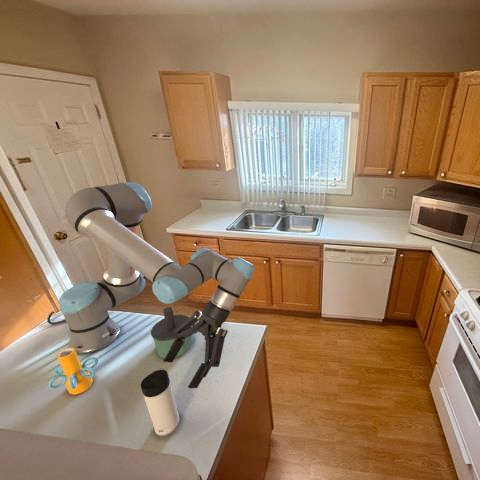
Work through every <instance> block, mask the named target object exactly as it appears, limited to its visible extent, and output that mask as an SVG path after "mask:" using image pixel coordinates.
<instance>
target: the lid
mask: <svg viewBox="0 0 480 480" xmlns="http://www.w3.org/2000/svg"><path fill="white" fill-rule="evenodd" d="M162 313H163V317H164V318H162V319H160V320H159V321H157V322H156V323H155V324H154V325H153V326H152V327H151V330H150V335H151V338H152V339H153V338H154V339H155V340H159V341H167V340H172V339H175V337H176V335H175V334H174V331H175V330H176V329H177V328H178V327H179V326H181V325H182V324H183V323H184V322H185V321H187V320H188V319H189V318H190V317H189V316H187V315H185V314H174V310H173V307H171V306H167V307H165V308H163V309H162ZM154 339H153V340H154Z"/></svg>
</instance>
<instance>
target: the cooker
mask: <svg viewBox="0 0 480 480" xmlns="http://www.w3.org/2000/svg"><path fill="white" fill-rule="evenodd" d="M193 336H194V335H191V336H189V337H187V338H185V340H182V341H184V344H183V346H182V347H181V349H180V350H179V352H178V354H177V355H176V357H175V358H177V357H179V356H181V355H183V354H185V353H186V352H188V351H189V350H190V349H191V347H192V346H193V344H194V337H193ZM152 339H153V343H154V345H155V349H156V353H157V355H158V356H159V357H161V358H162V359H164V358H165V357H166V355H167V354H168V352H169V350H170V349H171V348H170V347H171V345H172V344H173V342H174V340H175V339H176V338H175V339H172V340H167V341H159V340H155V339H154V338H153V337H152Z"/></svg>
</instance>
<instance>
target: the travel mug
mask: <svg viewBox="0 0 480 480" xmlns="http://www.w3.org/2000/svg"><path fill="white" fill-rule="evenodd" d="M171 383H172V382H171V379H170V377H169V373H168V371H167V370H165V369H157V370H154V371H152V372H151V373H150V374H148V375H147V376H145V377H144V378H143V379H142V381H141V382H140V388H141V392H142V396H143V399H144V401H145V405H146V407H147V411H148V414H149V417H150V420H151V423H152V426H153V430H154V433H155V435H157V436H158V437H166V436H168V435H171V434H172V433H173V432H175V430H176V429H177V428H178V426H179V425H180V421H181V419H180V415H179V411H178V406H177V403H176V399H175V395H174V391H173V387H172V384H171Z"/></svg>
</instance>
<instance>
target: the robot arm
mask: <svg viewBox="0 0 480 480" xmlns="http://www.w3.org/2000/svg"><path fill="white" fill-rule="evenodd" d="M152 207H153V204H152V200H151V197H150V195H149V194H148V191H147V190H146V189H145V188H144V187H143V186H141V184H139V183H137V182H134V181H128V182H127V181H126V182H122V181H121V182H119V183H113V184H107V185H99V186H94V187H92V186H91V187H84V188H82V189H80V190H77V191H76V192H74V193H73V194H71V196H69V198H68V200H67V202H66V204H65V212H64V213H65V217H66V220H67V222H68V224H69V225H70V227H71V228H72V229H73V230H74V231H75V232H76V233H78V234H79V235H80V236H82V237H84V238H87V239H93V240H94V241H96V242H97V243H98V244H100V245H101V246H103V247H104V248H105V249H107V269H105V270H104V272H103V275H102V277H103V278H102V280H100V281H98V282H95V281H86V282H84V283H78V284H76V285H74V286H72V287H70V288H68V289H67V290H65V291H64V292H63V293H62V294H61V295H60V297H59V299H58V304H59V307H60V308H59V309H60V312H61V313H62V315H63V317H64V319H63V320H60V321H55V322H52V321H51V317H52V315H53V314H55V311H51V312H50V313H49V315H48V316H47V323H48V324H49V325H59V324H62V323H65V322H66V324H67V326H68V328H69V331H70V334H69V343H68V344H69V348H74V349H75V351H76V353H77V355H87V354H91V353H95V352H98V351H101V350H103V349H105V348H106V347H109V346H110V345H111V344H112V343H114V342H115V341H116V340H117V339H118V338H119V337H120V335H121V329H120V326H119V325H118V323H117V322H116V321H115V320H114V319H112V317H110V314H109V311H111V310H112V309H113V308H115V307H117V306H119V305H121V304H122V303H125V302H126V301H128V300H130V299H132V298H134V297H136V296H137V295H139V294H141V293H142V292H143V291H144V290H145V287H146V279H148V280H149V281H150V282H152V285H151V290H152V293H153V295H154V296H155V297H156V298H157V300H158V301H159V302H161V303H162V304H166V305H170V304H173V303H176V302H178V301H179V300H181V299H183V298H185V297H187V295H188V294H189V293H191V292H192V291H194V290H195V289H197V288H198V287H200V286H202V285H203V284H205V283H207V282H208V281H209V280H210V279H213V280H215V281H217V282H218V285H217V286H216V288H215V289H214V291H213V293H212V294H211V295H210V297H209V299H210V300H208V301H207V303H205V306H204V307H203V309H202V311H200V310H195V311H194V312H193V314H192V315H191V316H190V317H189V319H188V320H187V321H185V322H184V323H183V324H182V325H181V326H179V327H178V328H177V329H176V330H175V331H174V334H175V335H176V337H175V338H176V339H175V340H174V342H173V344H172V345H171V347H170V348H171V349H170V350H169V352H168V354H167V355H166V357H165V358H163V360H162V361H163V362H164V363H173V362H174V361H175V359H176V358H177V357H176V355H177V354H178V352H179V350H180V349H181V347H182V346H183V344H184V341H182V340H185V338H187V337H189V336H191V335H192V336H194V335H195V334H196V333H200V334H201V335H202V336H203V337H204V341H205V348H204V362H201V363H200V365H199V367H198V369H197V370H196V372H195V374H194V375H193V376H192V378H191V381H190V383H189V384H188V385H187V388H188V389H198V388H199V386H200V384H201V383H202V381H203V379H204V378H206V377H207V375H208V373H209V372H210V370H211V369H212V368H218V367H220V363H221V360H222V354H223V349H224V344H225V339H226V337H227V334H228V332H229V331H228V329H226V328H222V325H223V324H224V323H226V321H227V319H228V318H229V316H230V314H231V313H232V312H231V310H233V309H234V307H235V306H236V304H237V302H238V300H239V299H240V297H241V295H242V294H243V292H244V290H245V288H246V287H247V286H248V284H249V282H250V281H251V278H252V276H253V274H254V272H255V270H256V267H255V265H254V264H253V263H251V262H249V261H248V260H245V259H244V258H242V257H239V256H236V257H234V258H233V260H231V259H229V258H227V257H226V256H223V255H221V254H220V253H218V252H216V251H214V250H211V249H209V248H207V247H199V248H198V249H196V250H195V252H192V255H190V259H189V262H188V263H186V264H183V265H179V264H178V263H176V262H175V261H174V260H172V259H171V258H169V257H168V256H167V255H165V254H164V253H162V252H161V251H159V250H158V249H157V248H156V247H154V246H153V245H151V244H150V243H148V242H147V241H146V240H144V239H143V238H142V237H140V236H138V227H139V226H140V225H142V223H143V220H144V214H148V213H149V212H151V211H152ZM144 277H145V278H146V279H145V278H144Z"/></svg>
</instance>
